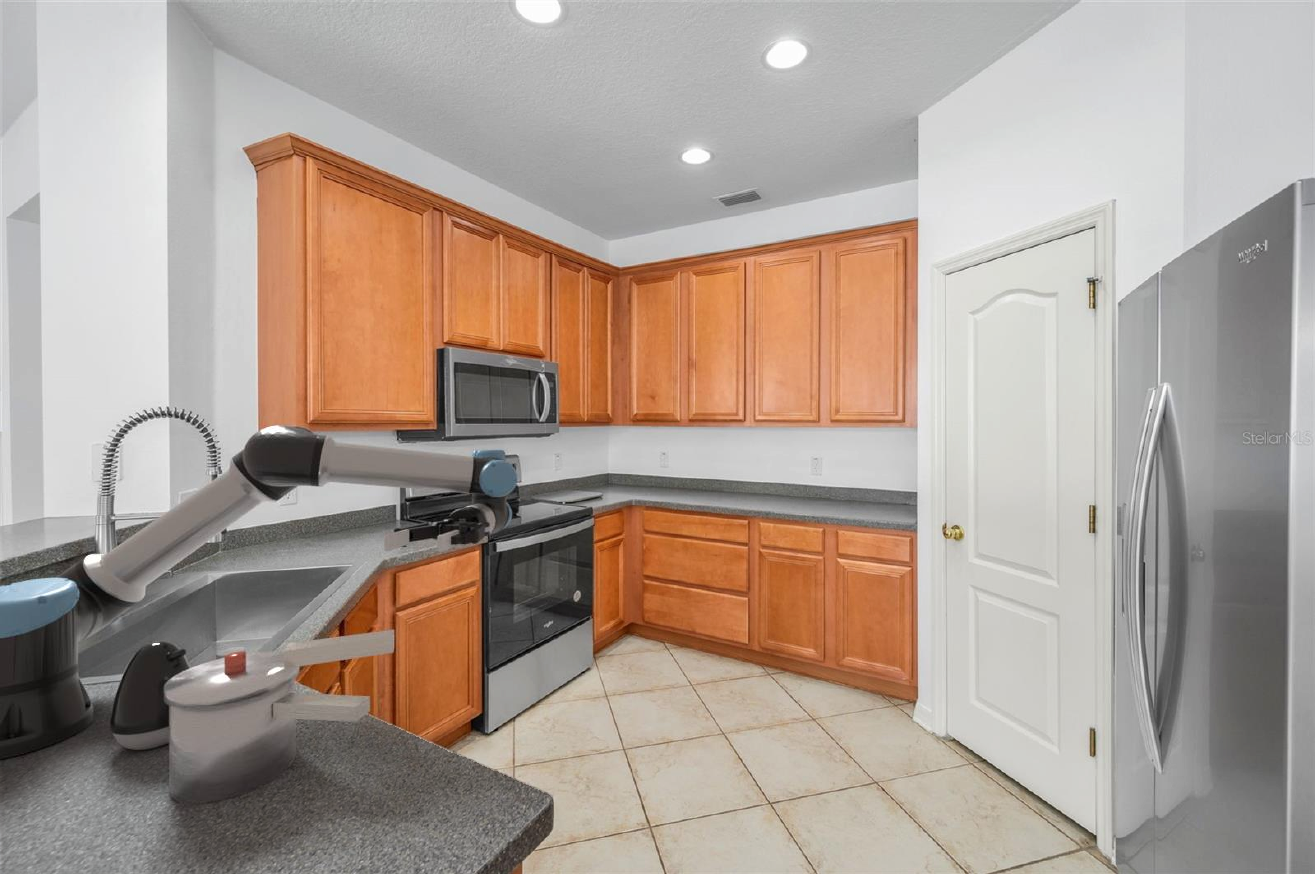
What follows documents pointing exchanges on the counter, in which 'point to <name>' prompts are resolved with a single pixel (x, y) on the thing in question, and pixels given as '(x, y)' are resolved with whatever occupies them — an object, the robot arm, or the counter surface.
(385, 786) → the counter surface
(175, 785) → the cooker pot
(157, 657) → the pump dispenser
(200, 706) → the lid
